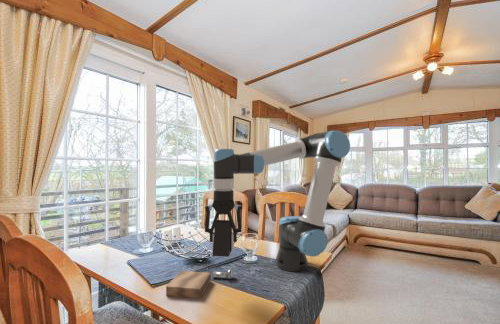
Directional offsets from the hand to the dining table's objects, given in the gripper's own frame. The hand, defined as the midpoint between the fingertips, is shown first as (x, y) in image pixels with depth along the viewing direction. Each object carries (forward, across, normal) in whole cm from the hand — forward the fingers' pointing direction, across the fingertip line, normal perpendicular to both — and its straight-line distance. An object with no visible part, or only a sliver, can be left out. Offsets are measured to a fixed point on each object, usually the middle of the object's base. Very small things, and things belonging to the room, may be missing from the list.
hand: (223, 250), depth 95 cm
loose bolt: (+16, +2, -12) cm, 20 cm away
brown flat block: (+16, +13, -4) cm, 21 cm away
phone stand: (+1, 0, 0) cm, 1 cm away
